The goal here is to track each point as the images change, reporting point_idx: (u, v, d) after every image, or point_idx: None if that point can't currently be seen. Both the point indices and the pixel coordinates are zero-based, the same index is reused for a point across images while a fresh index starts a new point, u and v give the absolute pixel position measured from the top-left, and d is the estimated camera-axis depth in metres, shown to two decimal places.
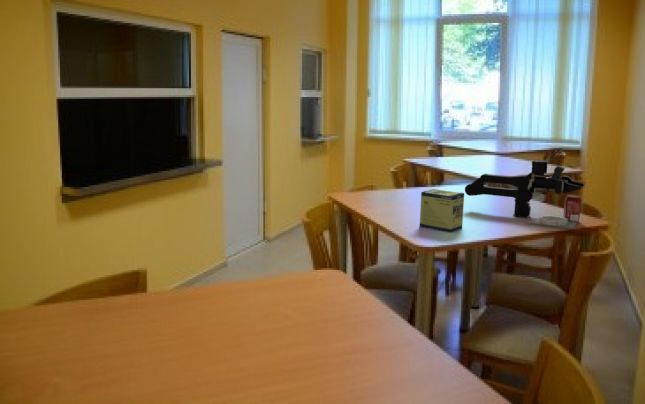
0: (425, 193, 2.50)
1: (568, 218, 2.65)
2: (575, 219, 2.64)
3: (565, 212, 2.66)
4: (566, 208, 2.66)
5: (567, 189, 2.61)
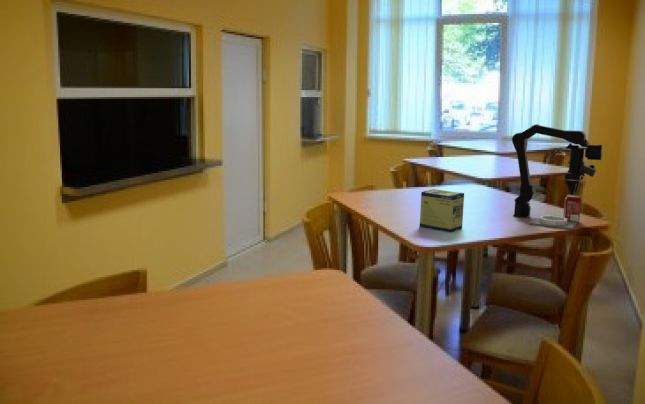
0: (425, 193, 2.50)
1: (568, 218, 2.65)
2: (575, 219, 2.64)
3: (565, 212, 2.66)
4: (566, 208, 2.66)
5: (570, 183, 2.60)
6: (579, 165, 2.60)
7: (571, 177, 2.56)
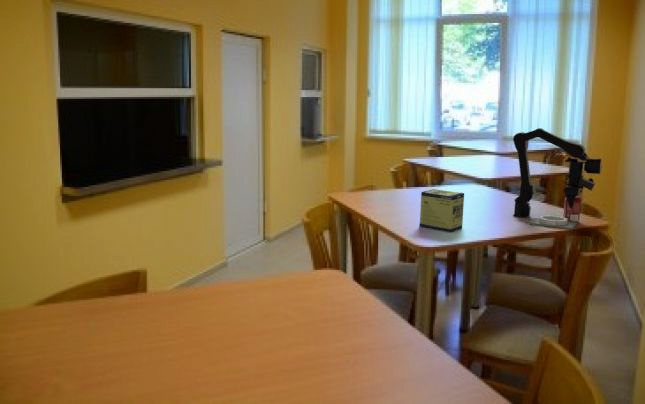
0: (425, 193, 2.50)
1: (568, 218, 2.65)
2: (575, 219, 2.64)
3: (565, 212, 2.66)
4: (566, 208, 2.66)
5: (569, 196, 2.62)
6: (578, 178, 2.61)
7: (570, 191, 2.57)
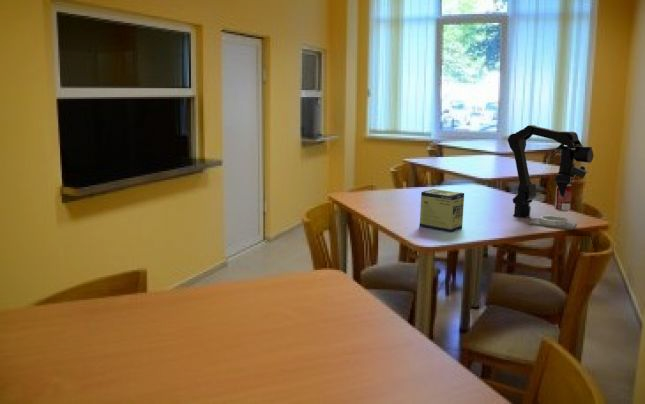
0: (425, 193, 2.50)
1: (559, 207, 2.61)
2: (566, 208, 2.60)
3: (556, 201, 2.62)
4: (557, 197, 2.61)
5: (561, 184, 2.57)
6: (570, 166, 2.57)
7: (562, 179, 2.53)
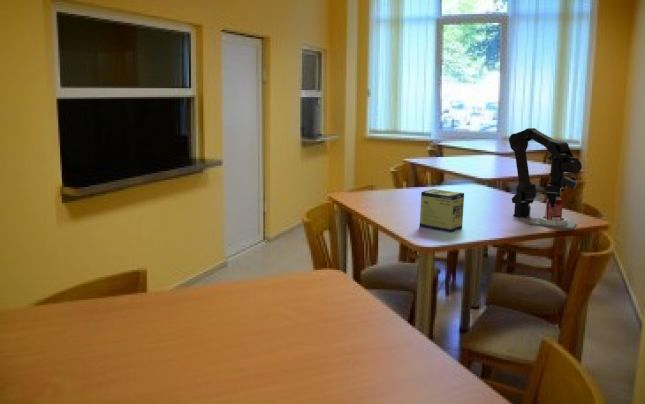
0: (425, 193, 2.50)
1: None
2: None
3: (546, 215, 2.60)
4: (547, 211, 2.59)
5: (550, 195, 2.55)
6: (560, 177, 2.55)
7: (551, 189, 2.51)
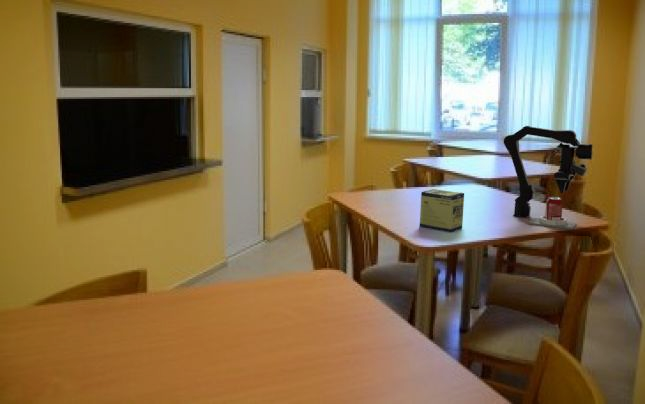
0: (425, 193, 2.50)
1: None
2: None
3: (546, 215, 2.60)
4: (547, 211, 2.59)
5: (560, 182, 2.63)
6: (569, 164, 2.63)
7: (560, 176, 2.59)
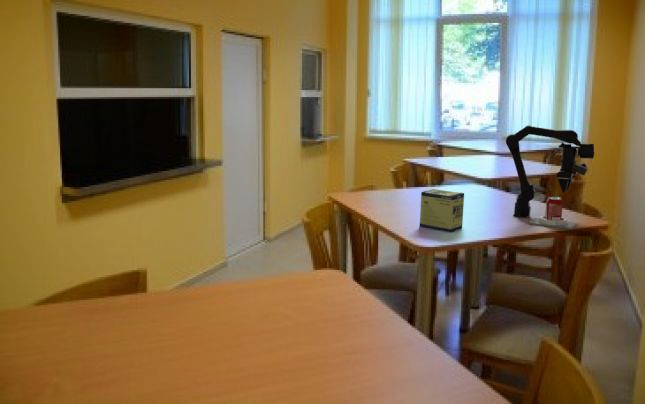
0: (425, 193, 2.50)
1: None
2: None
3: (546, 215, 2.60)
4: (547, 211, 2.59)
5: (562, 181, 2.65)
6: (571, 164, 2.66)
7: (563, 175, 2.61)
